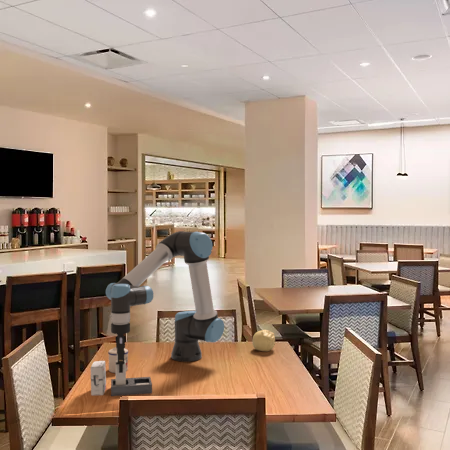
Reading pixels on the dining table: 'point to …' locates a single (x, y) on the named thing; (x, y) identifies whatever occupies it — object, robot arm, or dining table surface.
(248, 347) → the dining table surface
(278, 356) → the dining table surface
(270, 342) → the pale yellow rounded lump
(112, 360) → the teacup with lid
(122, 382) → the plug
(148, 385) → the console
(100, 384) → the ink box
